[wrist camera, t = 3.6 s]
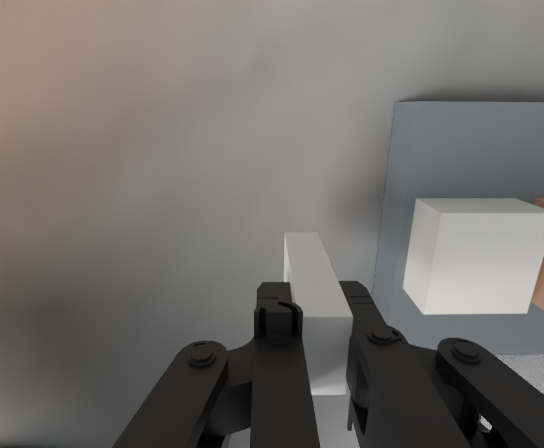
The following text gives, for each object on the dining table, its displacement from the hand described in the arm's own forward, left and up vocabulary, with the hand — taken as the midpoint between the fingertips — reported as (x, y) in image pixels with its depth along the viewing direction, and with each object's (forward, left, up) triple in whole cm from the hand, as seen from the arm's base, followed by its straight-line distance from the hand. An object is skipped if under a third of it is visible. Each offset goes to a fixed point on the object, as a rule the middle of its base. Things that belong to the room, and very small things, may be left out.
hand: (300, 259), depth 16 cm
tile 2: (+8, 0, -2) cm, 9 cm away
